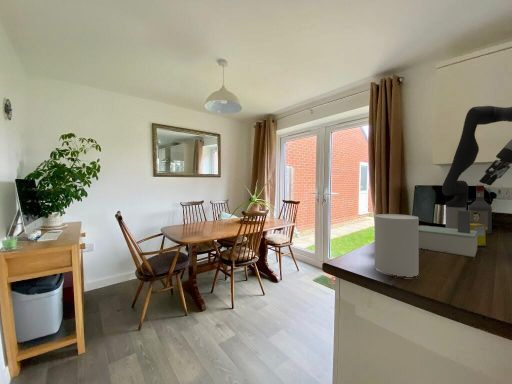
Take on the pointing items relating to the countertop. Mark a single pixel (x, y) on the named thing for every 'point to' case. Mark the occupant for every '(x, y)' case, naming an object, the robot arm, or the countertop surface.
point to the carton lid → (461, 231)
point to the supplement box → (479, 233)
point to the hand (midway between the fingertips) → (484, 183)
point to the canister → (397, 244)
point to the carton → (448, 243)
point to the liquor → (481, 210)
